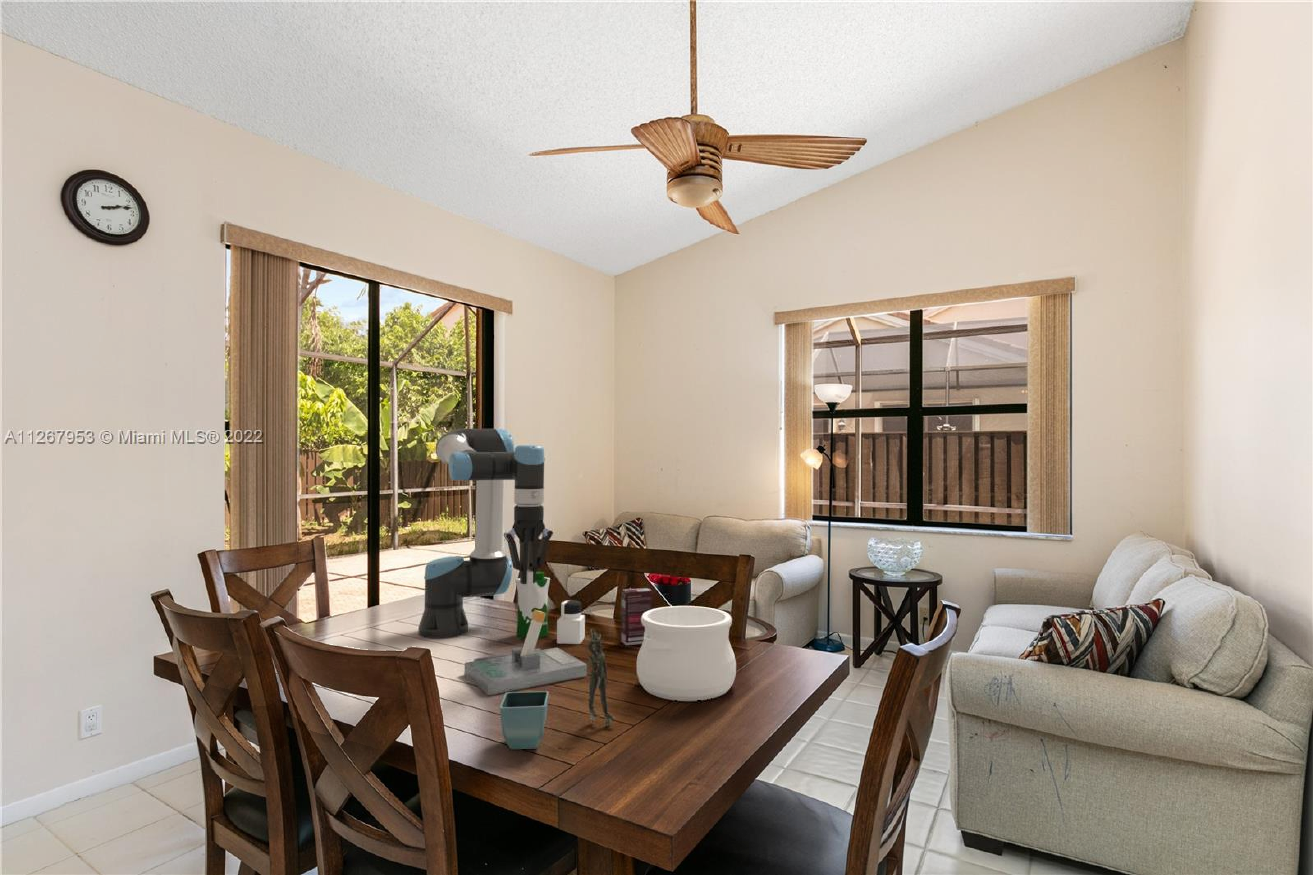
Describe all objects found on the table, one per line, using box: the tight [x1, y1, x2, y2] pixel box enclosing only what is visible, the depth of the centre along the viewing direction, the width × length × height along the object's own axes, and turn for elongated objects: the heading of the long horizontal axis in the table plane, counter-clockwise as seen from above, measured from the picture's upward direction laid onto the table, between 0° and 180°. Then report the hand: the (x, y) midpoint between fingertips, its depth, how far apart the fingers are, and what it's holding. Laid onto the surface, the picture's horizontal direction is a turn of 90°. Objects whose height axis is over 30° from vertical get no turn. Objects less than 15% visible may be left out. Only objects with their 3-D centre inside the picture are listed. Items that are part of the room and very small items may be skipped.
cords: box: [473, 648, 542, 661], centre depth 187 cm, size 5×21×3 cm, turn 123°
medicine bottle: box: [556, 599, 586, 645], centre depth 210 cm, size 7×7×12 cm
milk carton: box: [514, 570, 551, 640], centre depth 215 cm, size 9×9×20 cm
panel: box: [464, 646, 588, 696], centre depth 178 cm, size 18×26×6 cm
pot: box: [635, 605, 737, 702], centre depth 170 cm, size 26×24×18 cm
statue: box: [587, 628, 616, 727], centre depth 145 cm, size 5×6×20 cm
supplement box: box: [621, 587, 653, 646], centre depth 209 cm, size 9×5×16 cm, turn 110°
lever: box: [520, 610, 546, 659], centre depth 179 cm, size 4×2×13 cm, turn 33°
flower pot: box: [499, 690, 550, 750], centre depth 136 cm, size 9×9×9 cm
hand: (527, 596), depth 179 cm, fingers closed
